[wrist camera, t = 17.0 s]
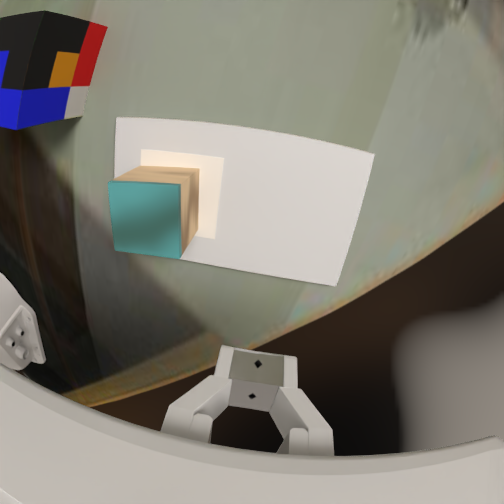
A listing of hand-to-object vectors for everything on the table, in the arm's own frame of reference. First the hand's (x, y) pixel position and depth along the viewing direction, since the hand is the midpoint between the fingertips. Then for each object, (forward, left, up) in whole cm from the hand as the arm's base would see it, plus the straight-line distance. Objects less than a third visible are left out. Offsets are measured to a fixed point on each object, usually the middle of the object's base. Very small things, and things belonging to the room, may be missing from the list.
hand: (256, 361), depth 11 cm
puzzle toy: (+13, +25, -19) cm, 34 cm away
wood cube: (-1, +10, -12) cm, 15 cm away
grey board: (0, +4, -19) cm, 19 cm away
